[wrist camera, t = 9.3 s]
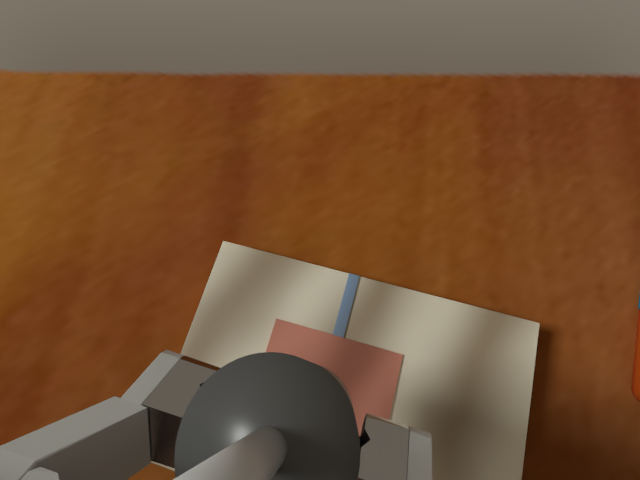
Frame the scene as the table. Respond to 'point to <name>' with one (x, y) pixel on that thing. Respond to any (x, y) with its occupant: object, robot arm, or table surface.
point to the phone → (637, 362)
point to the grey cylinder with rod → (269, 424)
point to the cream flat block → (382, 353)
